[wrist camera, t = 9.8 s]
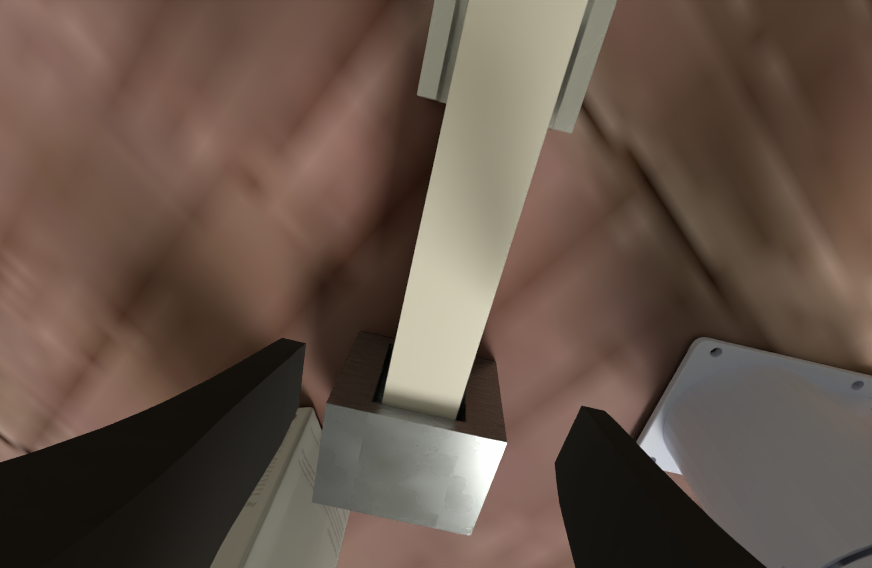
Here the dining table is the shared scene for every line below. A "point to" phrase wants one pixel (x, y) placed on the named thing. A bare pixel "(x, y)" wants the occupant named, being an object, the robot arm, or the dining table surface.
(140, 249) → the dining table surface
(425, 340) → the inner rod
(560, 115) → the sleeve
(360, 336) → the socket
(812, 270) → the dining table surface
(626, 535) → the robot arm
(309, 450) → the skincare box
